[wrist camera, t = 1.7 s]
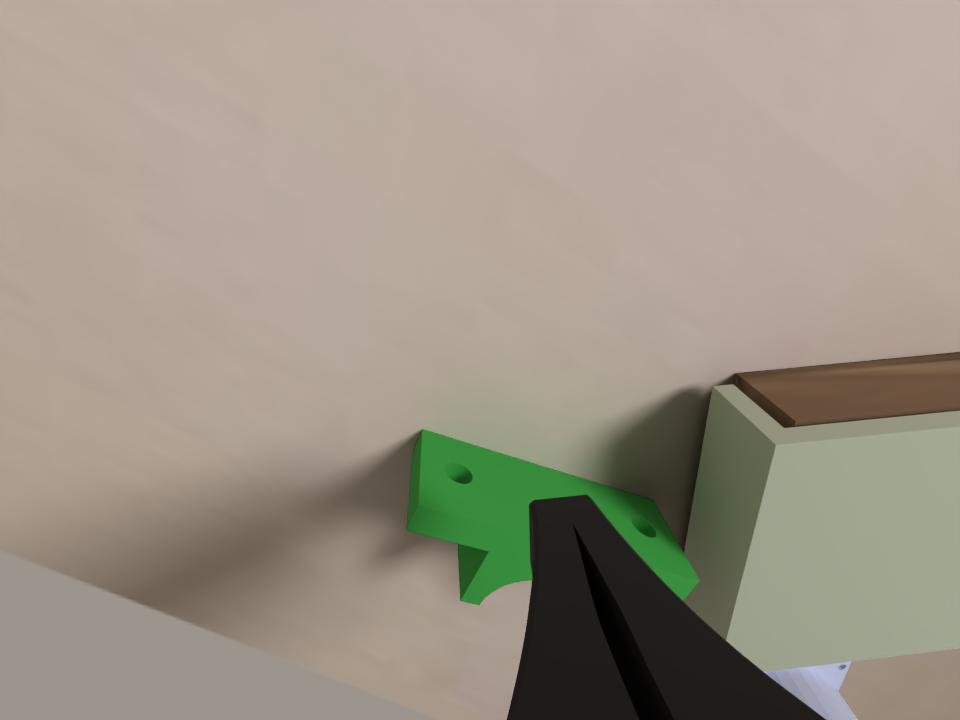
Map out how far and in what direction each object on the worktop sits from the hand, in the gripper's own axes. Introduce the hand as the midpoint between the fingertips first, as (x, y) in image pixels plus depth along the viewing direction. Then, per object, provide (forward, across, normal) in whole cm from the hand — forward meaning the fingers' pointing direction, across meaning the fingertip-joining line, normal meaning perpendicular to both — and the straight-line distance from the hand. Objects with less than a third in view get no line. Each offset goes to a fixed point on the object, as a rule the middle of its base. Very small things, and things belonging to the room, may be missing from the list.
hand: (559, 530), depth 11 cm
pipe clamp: (+8, 0, +6) cm, 11 cm away
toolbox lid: (+8, -17, +7) cm, 20 cm away
